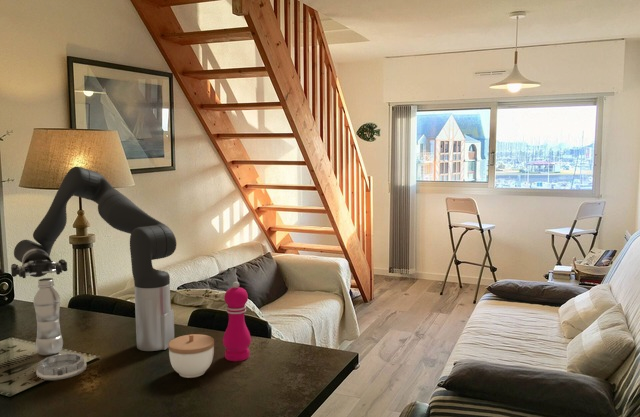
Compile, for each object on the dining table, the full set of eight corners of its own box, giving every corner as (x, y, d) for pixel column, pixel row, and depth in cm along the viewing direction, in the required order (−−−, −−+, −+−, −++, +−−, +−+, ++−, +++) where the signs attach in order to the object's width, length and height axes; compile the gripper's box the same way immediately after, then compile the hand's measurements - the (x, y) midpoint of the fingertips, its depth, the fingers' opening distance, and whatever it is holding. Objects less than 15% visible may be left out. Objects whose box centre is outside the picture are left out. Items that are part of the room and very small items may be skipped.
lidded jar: (198, 385, 121) (197, 345, 120) (159, 378, 125) (158, 339, 124) (223, 367, 131) (222, 330, 130) (186, 361, 135) (185, 325, 134)
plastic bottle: (36, 360, 136) (31, 283, 134) (36, 351, 142) (32, 278, 140) (63, 355, 139) (59, 280, 136) (63, 347, 145) (59, 275, 142)
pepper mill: (248, 362, 134) (247, 285, 132) (220, 362, 134) (218, 285, 132) (253, 351, 141) (252, 278, 139) (226, 351, 141) (224, 278, 139)
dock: (95, 362, 134) (94, 353, 133) (69, 381, 123) (68, 371, 123) (55, 360, 135) (54, 351, 135) (25, 378, 124) (25, 368, 124)
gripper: (8, 252, 157) (11, 262, 143) (61, 247, 164) (69, 256, 151) (10, 277, 158) (13, 289, 144) (62, 271, 165) (70, 282, 152)
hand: (41, 272), depth 147 cm, fingers open, 8 cm apart
